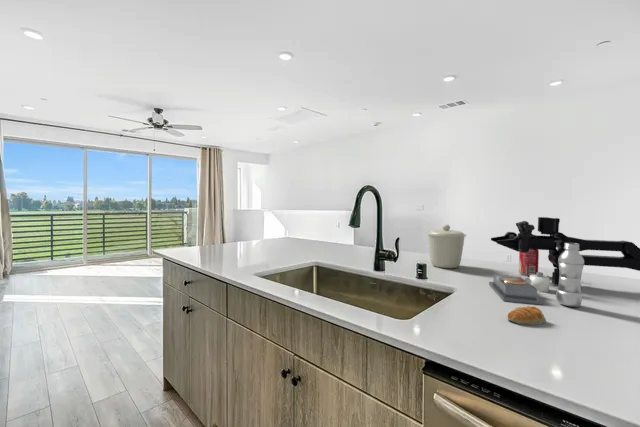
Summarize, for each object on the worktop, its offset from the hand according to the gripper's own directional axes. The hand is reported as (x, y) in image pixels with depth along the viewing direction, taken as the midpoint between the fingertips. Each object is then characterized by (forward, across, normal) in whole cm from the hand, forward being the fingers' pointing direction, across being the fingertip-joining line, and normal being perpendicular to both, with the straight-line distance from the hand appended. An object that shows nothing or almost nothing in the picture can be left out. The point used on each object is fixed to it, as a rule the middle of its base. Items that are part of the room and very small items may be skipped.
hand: (493, 240), depth 124 cm
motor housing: (-2, +19, +16) cm, 25 cm away
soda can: (-17, -14, +17) cm, 28 cm away
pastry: (+2, +45, +17) cm, 48 cm away
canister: (+17, -20, +17) cm, 31 cm away
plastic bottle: (-16, +27, +17) cm, 35 cm away
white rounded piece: (-13, +10, +17) cm, 24 cm away
